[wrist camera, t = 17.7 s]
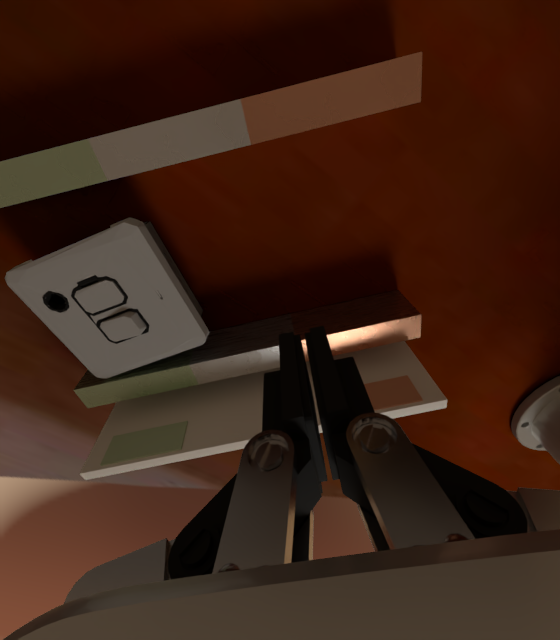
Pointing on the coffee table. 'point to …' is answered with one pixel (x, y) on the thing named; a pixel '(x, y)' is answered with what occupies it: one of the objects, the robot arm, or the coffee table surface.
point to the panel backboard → (241, 412)
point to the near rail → (213, 130)
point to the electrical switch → (113, 299)
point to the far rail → (261, 347)
